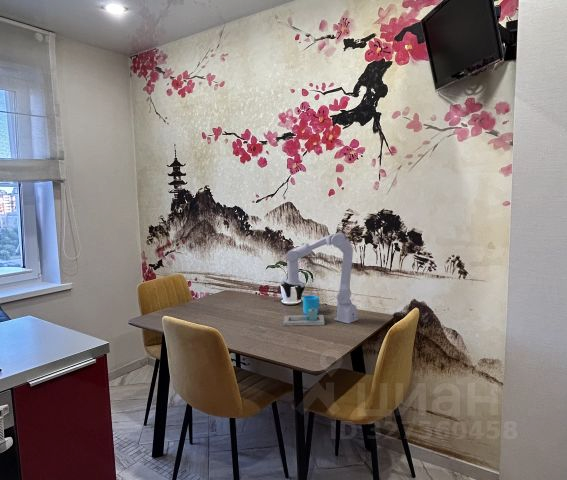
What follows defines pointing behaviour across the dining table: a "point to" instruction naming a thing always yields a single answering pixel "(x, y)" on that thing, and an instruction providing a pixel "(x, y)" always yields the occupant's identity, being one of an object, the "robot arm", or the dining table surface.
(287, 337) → the dining table surface
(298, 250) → the robot arm
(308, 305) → the mug
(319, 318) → the panel
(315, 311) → the plug
